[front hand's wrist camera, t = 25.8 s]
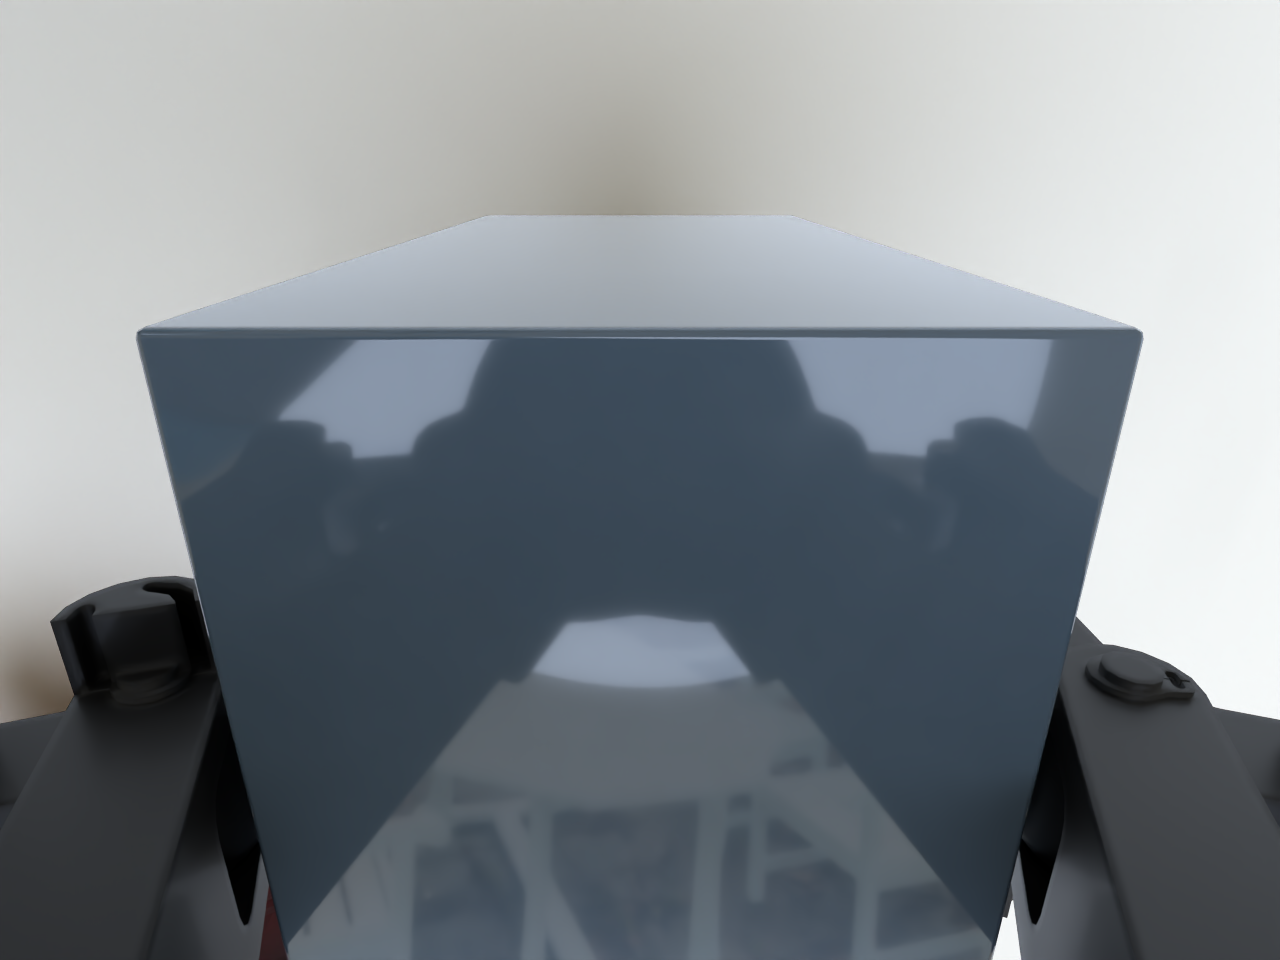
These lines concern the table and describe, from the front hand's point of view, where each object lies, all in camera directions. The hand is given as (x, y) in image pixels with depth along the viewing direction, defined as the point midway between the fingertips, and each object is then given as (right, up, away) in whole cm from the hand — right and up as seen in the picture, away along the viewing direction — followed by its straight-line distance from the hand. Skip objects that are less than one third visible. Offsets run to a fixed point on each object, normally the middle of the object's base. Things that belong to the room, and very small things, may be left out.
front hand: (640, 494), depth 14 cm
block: (0, +1, +3) cm, 3 cm away
